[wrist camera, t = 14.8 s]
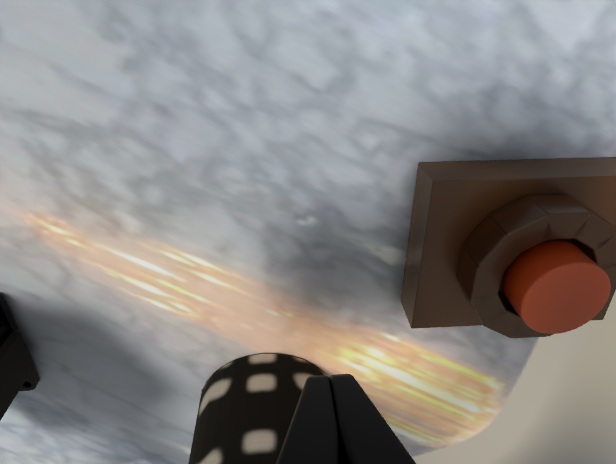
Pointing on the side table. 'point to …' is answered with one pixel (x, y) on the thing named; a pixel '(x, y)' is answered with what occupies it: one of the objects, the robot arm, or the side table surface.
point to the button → (555, 287)
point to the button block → (500, 233)
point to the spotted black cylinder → (249, 409)
